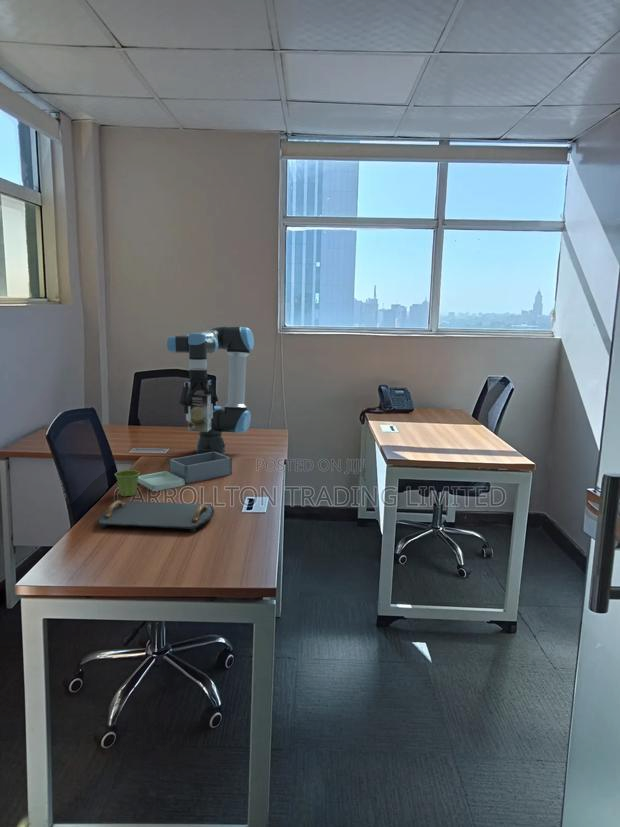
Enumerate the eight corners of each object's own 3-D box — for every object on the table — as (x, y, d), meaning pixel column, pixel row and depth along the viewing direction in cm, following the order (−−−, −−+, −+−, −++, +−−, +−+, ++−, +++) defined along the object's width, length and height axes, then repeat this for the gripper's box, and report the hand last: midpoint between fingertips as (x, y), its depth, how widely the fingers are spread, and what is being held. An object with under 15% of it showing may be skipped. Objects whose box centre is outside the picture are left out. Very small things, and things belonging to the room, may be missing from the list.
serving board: (220, 512, 209) (219, 495, 208) (202, 536, 186) (201, 518, 185) (119, 507, 212) (118, 491, 211) (89, 531, 190) (88, 513, 189)
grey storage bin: (214, 467, 267) (214, 451, 265) (232, 474, 255) (231, 457, 254) (169, 475, 252) (169, 459, 251) (185, 483, 241) (185, 466, 239)
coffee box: (187, 431, 247) (186, 394, 244) (191, 428, 254) (190, 392, 251) (208, 431, 247) (207, 395, 244) (212, 428, 253) (211, 393, 250)
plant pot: (127, 489, 233) (126, 468, 231) (145, 492, 228) (144, 471, 227) (110, 495, 224) (109, 474, 223) (128, 499, 220) (127, 478, 219)
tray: (166, 476, 251) (166, 470, 251) (184, 485, 238) (184, 479, 238) (136, 482, 242) (135, 476, 242) (153, 491, 229) (153, 486, 229)
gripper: (216, 366, 255) (217, 415, 259) (169, 369, 241) (171, 421, 245) (225, 368, 250) (226, 417, 254) (178, 371, 235) (179, 423, 239)
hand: (199, 419), depth 249 cm, fingers closed on coffee box, 10 cm apart
